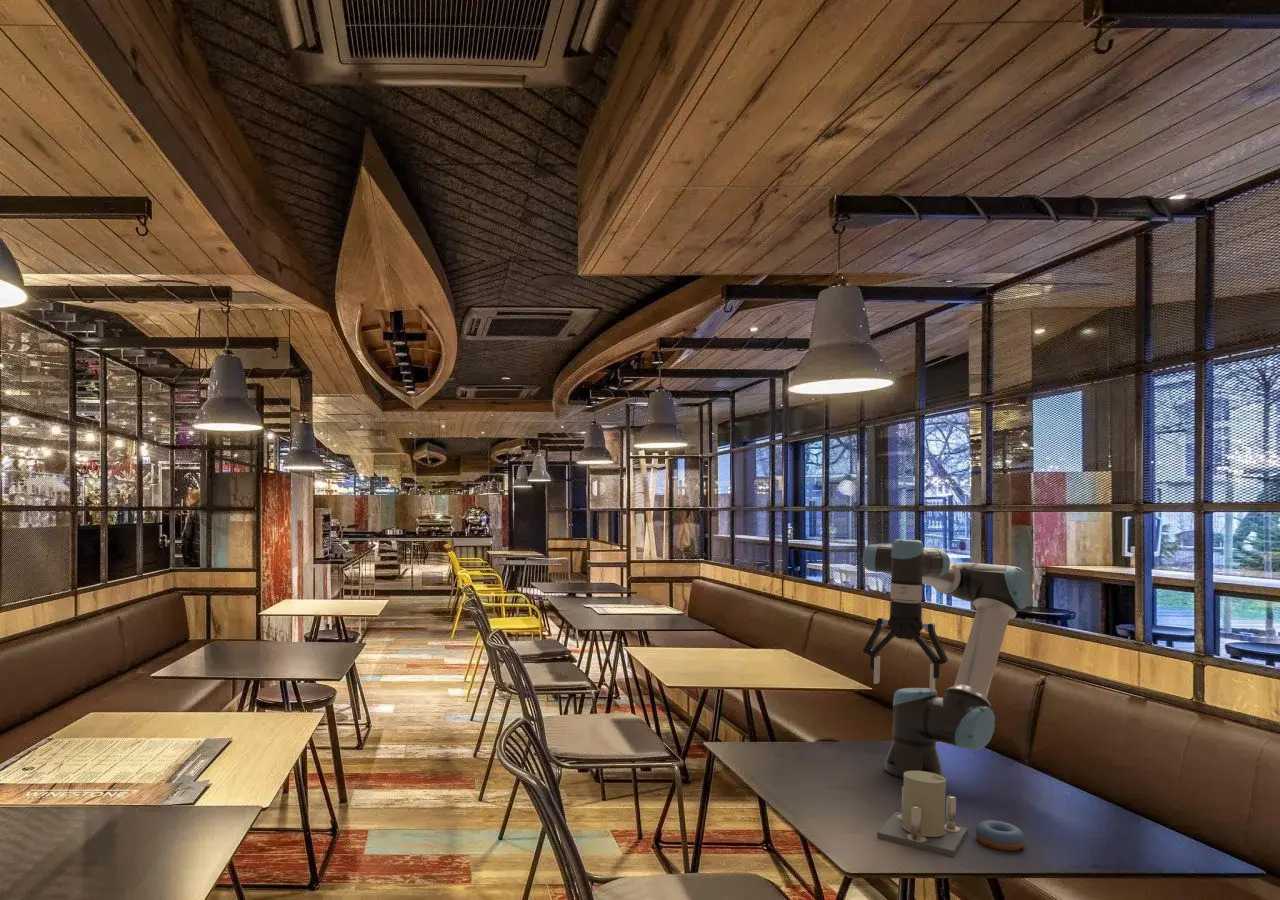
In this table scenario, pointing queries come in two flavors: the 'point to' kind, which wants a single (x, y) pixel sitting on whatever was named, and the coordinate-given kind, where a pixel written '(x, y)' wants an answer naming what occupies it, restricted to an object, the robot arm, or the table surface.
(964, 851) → the table surface
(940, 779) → the can
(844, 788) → the table surface
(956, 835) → the board
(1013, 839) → the doughnut
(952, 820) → the pins
